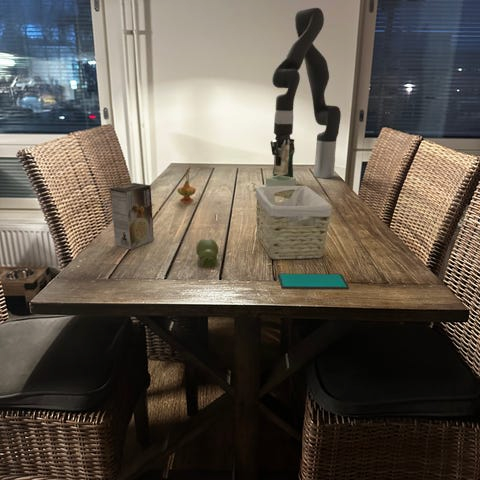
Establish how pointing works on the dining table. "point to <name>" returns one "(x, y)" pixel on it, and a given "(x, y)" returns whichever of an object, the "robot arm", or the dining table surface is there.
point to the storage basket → (292, 222)
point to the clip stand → (279, 181)
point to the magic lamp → (186, 190)
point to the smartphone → (312, 281)
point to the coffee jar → (290, 164)
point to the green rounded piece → (207, 252)
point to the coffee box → (132, 215)
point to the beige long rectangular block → (283, 162)
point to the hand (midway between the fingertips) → (281, 164)
